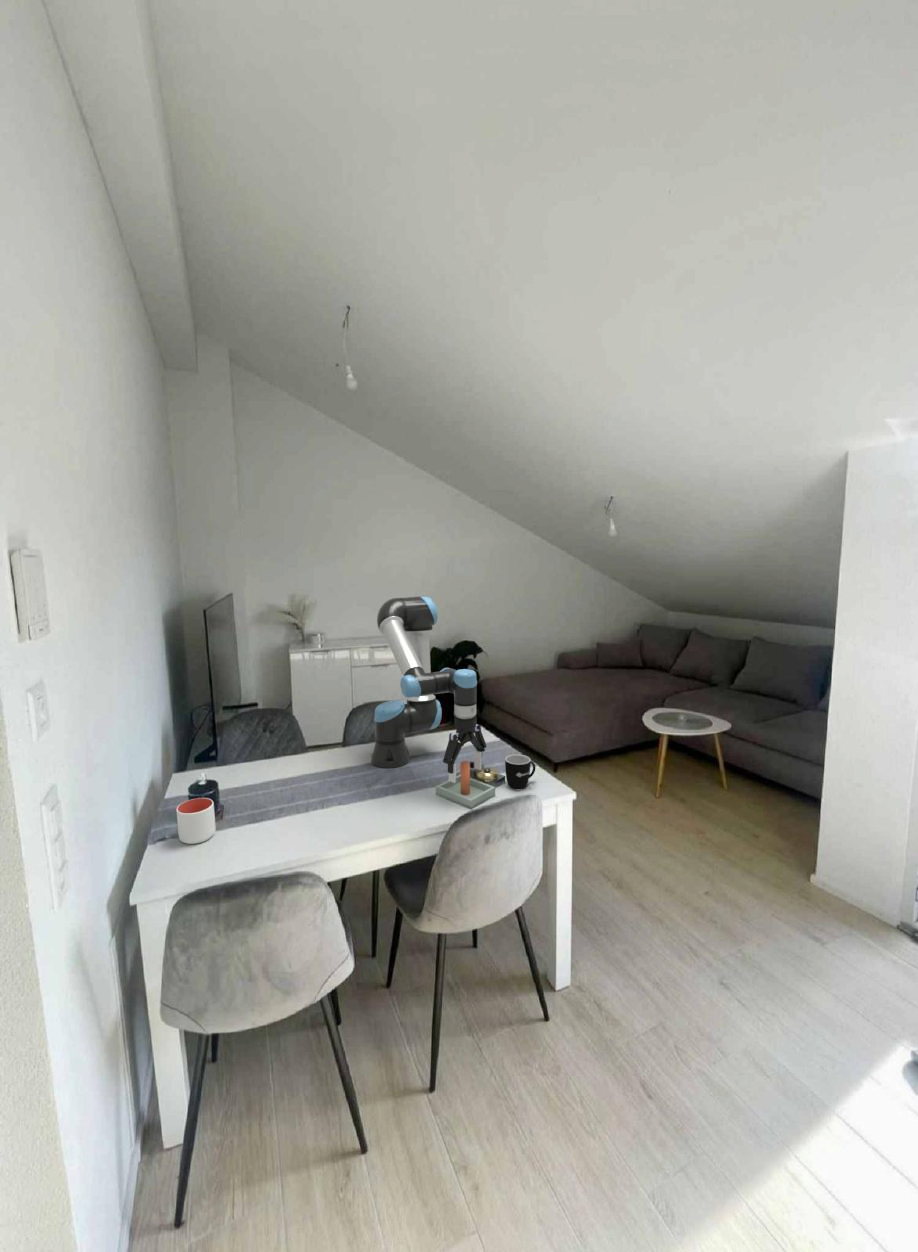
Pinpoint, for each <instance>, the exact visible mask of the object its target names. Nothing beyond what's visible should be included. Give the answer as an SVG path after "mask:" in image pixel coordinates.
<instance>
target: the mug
mask: <svg viewBox="0 0 918 1252" xmlns="http://www.w3.org/2000/svg"><path fill="white" fill-rule="evenodd" d="M504 764H505V767H504V768H505V780H506V783H507V785H508V788H510V789H512V790H515V791H516V790H517V791H518V790H519V791H520V790H525V789H526V788H527V787H528V783H529V780H530V778H532V777H533V776H534V774H535V772H536V764H535V763H534V762H533V761H532V760H531V758H530V757H529V756H527V755H525V754H524V755H523V754H516V753H515V754H510V755H507V756H506V757H505V759H504ZM531 765H532V770H531ZM530 771H531V772H530Z"/></svg>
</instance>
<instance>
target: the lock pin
mask: <svg viewBox="0 0 918 1252" xmlns="http://www.w3.org/2000/svg"><path fill="white" fill-rule="evenodd" d="M469 761H470V760H469ZM469 761H468V760H462V761H460V766H461V794H462V795H468V794H470V762H469Z"/></svg>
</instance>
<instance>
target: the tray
mask: <svg viewBox="0 0 918 1252" xmlns="http://www.w3.org/2000/svg"><path fill="white" fill-rule="evenodd" d="M435 795H436V796H438V797H441V798H442V799H446V800H447V801H450V802H453V803H455V804H457V805H459V806H462V807H464V808H467V809H469V810H473V809H474V808H475V807H478V806H480V805H481V804H483V803H485V802H486V801H488V800H490V799H492V798H493V797H495V796H496V788H495V787H493V786H490V785H488V784H485V783H482V782H480V781H477V780H474V779H471V778H470V794H468V795H462V794H461V774H460V775H458V776H456V783H454V782H451V781H449V779H448V780H446V781H444V782H442V783H440V784H438V785H436V786H435Z"/></svg>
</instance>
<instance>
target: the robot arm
mask: <svg viewBox="0 0 918 1252" xmlns="http://www.w3.org/2000/svg"><path fill="white" fill-rule="evenodd" d="M376 617H377V618H376V624H377V628H378V630H379V633H381V635H382V636H384V637H385V639H386V641H387V644H388V646H389V649H390V650H391V652H392V655H393V658H394V659H395V661H396V663H397V666H398V668H399V671H400V672H401V675H402V677H401V678H400V686H399V687H400V689H401V694H402V695H403V696H404V697H405V698H406V703H404V702H403V701H402V700H390V701H385V702H382V703H380V704H379V705H377V706H376V707H375V710H374V718H373V719H374V733H375V735H374V739H375V740H374V741H375V742H374V745H373V746H374V747H373V750H372V753H371V757H370V758H371V764H372V765H374V766H375V767H379V768H383V769H393V768H399V767H402V766H404V765H407V764H408V763H409V762H410V760H411V758H410V752H409V749H408V746H407V743H406V734H412V733H417V732H423V731H429V730H433V729H437V727H439V725H440V723H441V720H442V713H443V712H442V711H443V710H442V707H441V706H442V705H441V703H440V701H439V700H438V699H437V698H436V695H437V694H438V695H439V694H445V693H450V694H452V695H453V701H454V705H453V707H454V708H453V709H454V710H453V715H454V717H453V718H454V719H453V721H454V722H453V726H454V727H455V729H456V731H455V733H449V735H448V742H447V745H446V749H445V752H444V757H443V760H442V763H444V764H446V765H447V773H448V780H449V781H451V782H454V783H456V773H457V763H456V761H457V758H458V756H459V754H460V751H461V749H462V747H464V745H465V744H467V743H471V745H472V746H473V747H474V749H475V750H474V751H473V758H474V759H473V760H474V768H475V769H478V770H481V766H482V759H483V753H484V752H486V748H487V744H486V740H485V738H484V737H485V736H484V734H483V732H482V726H481V725H480V724H477V697H478V696H477V694H478V693H477V691H478V689H477V685H478V680H477V672H476V671H475V670H473V669H467V668H463V669H457V670H456V669H455V668H454V669H453V668H450V667H444V668H442V669H441V670H440V671H435V672H434V671H433V672H432V671H431V650H430V634H431V633H432V632H433V626H434V625H436V624H437V623H438V610H437V606H436V604H435V602H434V601H433V599H432V598H431V597H429V596H409V597H394V598H391V599H388V600H387V601H385V602H384V603H383V604H382V605H381V606H380V608H379V609H378V613H377V615H376Z"/></svg>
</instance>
